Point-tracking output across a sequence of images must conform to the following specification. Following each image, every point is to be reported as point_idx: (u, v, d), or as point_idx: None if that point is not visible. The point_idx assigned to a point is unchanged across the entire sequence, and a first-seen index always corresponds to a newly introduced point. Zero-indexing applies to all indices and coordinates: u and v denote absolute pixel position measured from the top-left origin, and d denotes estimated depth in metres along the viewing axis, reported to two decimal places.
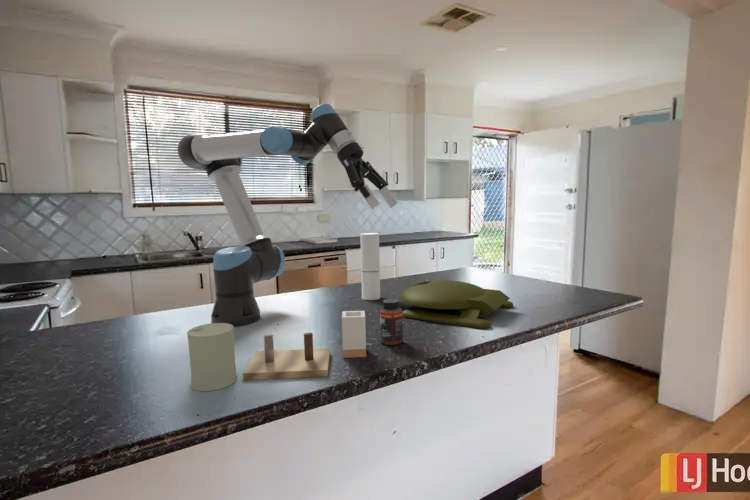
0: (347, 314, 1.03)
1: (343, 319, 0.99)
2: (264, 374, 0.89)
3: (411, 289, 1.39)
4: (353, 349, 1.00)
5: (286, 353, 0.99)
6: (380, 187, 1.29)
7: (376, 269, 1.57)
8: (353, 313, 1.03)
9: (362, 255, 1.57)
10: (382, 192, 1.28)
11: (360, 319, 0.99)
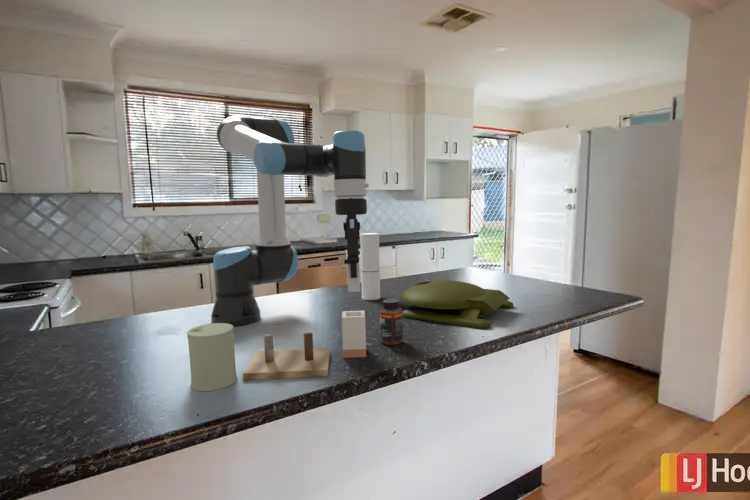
0: (347, 314, 1.03)
1: (343, 319, 0.99)
2: (264, 374, 0.89)
3: (411, 289, 1.39)
4: (353, 349, 1.00)
5: (286, 353, 0.99)
6: None
7: (376, 269, 1.57)
8: (353, 313, 1.03)
9: (362, 255, 1.57)
10: None
11: (360, 319, 0.99)
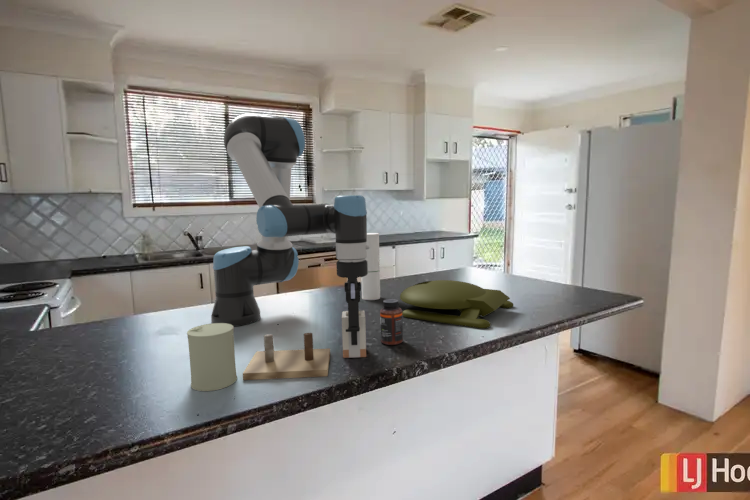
0: (347, 314, 1.03)
1: (343, 319, 0.99)
2: (264, 374, 0.89)
3: (411, 289, 1.39)
4: None
5: (286, 353, 0.99)
6: None
7: (376, 269, 1.57)
8: None
9: None
10: None
11: (360, 319, 0.99)
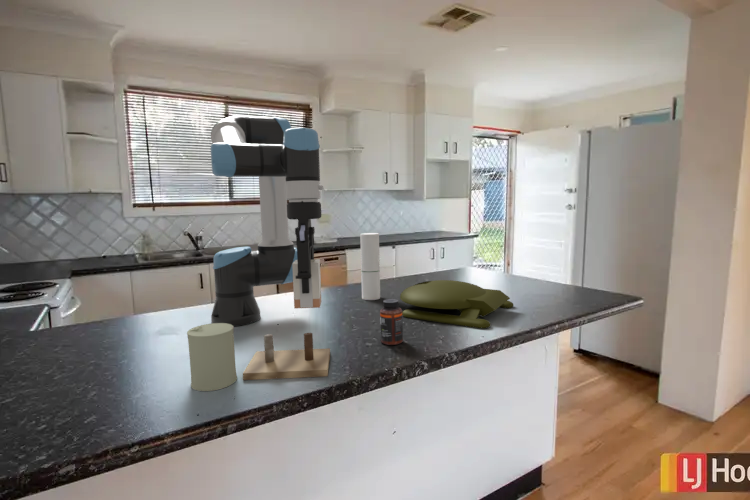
0: None
1: (294, 265, 0.90)
2: (264, 374, 0.89)
3: (411, 289, 1.39)
4: None
5: (286, 353, 0.99)
6: None
7: (376, 269, 1.57)
8: None
9: (362, 255, 1.57)
10: None
11: (312, 266, 0.90)
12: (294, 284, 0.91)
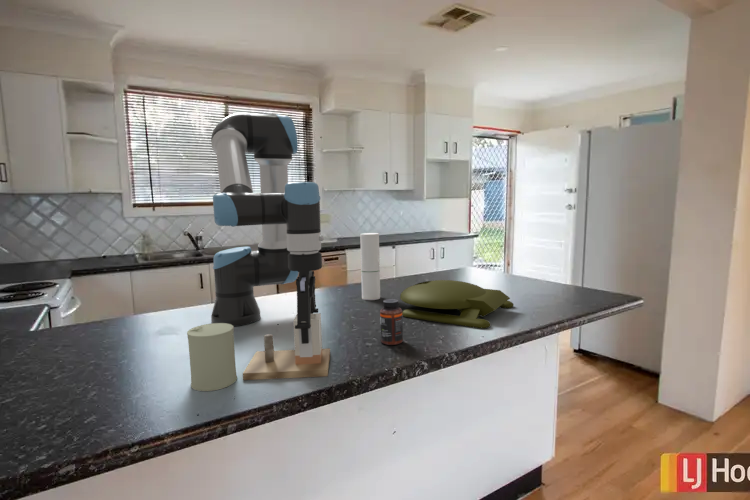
0: None
1: (295, 322, 0.91)
2: (264, 374, 0.89)
3: (411, 289, 1.39)
4: None
5: (286, 353, 0.99)
6: None
7: (376, 269, 1.57)
8: None
9: (362, 255, 1.57)
10: None
11: (313, 323, 0.92)
12: (295, 341, 0.92)
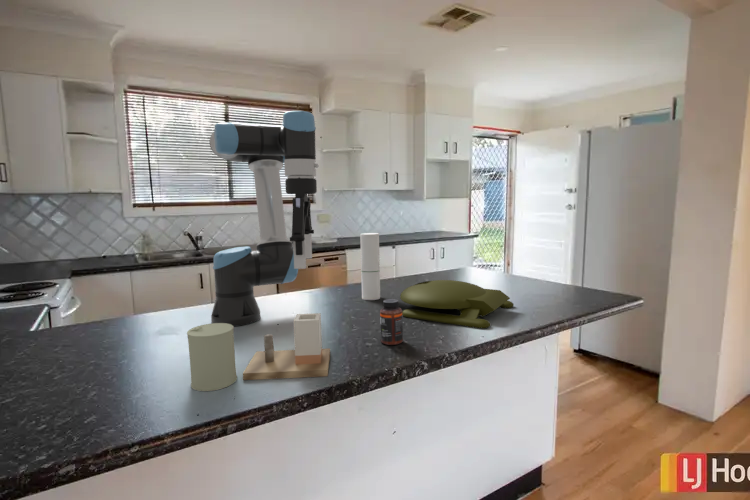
0: (301, 317, 0.96)
1: (295, 322, 0.91)
2: (264, 374, 0.89)
3: (411, 289, 1.39)
4: (306, 355, 0.93)
5: (286, 353, 0.99)
6: None
7: (376, 269, 1.57)
8: (308, 316, 0.96)
9: (362, 255, 1.57)
10: None
11: (313, 323, 0.92)
12: (295, 341, 0.92)
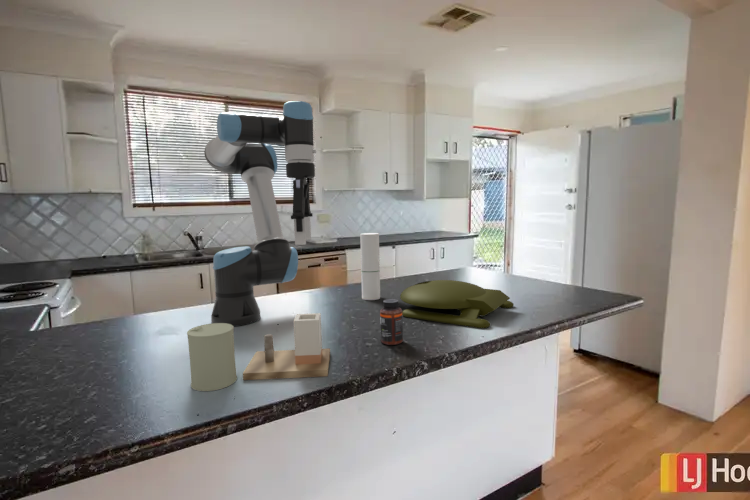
0: (301, 317, 0.96)
1: (295, 322, 0.91)
2: (264, 374, 0.89)
3: (411, 289, 1.40)
4: (306, 355, 0.93)
5: (286, 353, 0.99)
6: None
7: (376, 269, 1.57)
8: (308, 316, 0.96)
9: (362, 255, 1.57)
10: None
11: (313, 323, 0.92)
12: (295, 341, 0.92)
